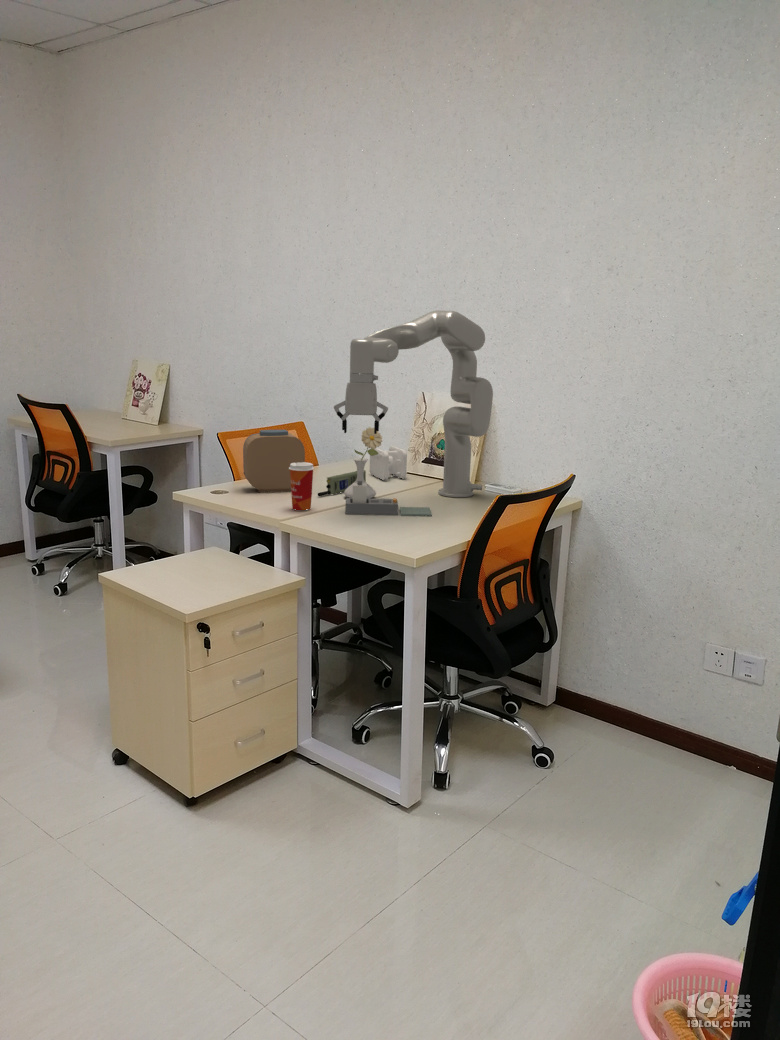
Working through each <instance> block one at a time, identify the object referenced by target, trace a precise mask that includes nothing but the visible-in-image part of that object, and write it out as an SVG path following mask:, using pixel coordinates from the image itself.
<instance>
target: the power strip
mask: <svg viewBox="0 0 780 1040" xmlns="http://www.w3.org/2000/svg"><path fill="white" fill-rule="evenodd" d="M344 504H345V508H344V510H345V512H344V513H345V515H368V514H374V516H375V515H377V516H378V515H379V516H380V515H383V516H384V515H385V516H398V515H399V501H398V498H366V503H353V498H349V497H346V498H345V503H344Z"/></svg>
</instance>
